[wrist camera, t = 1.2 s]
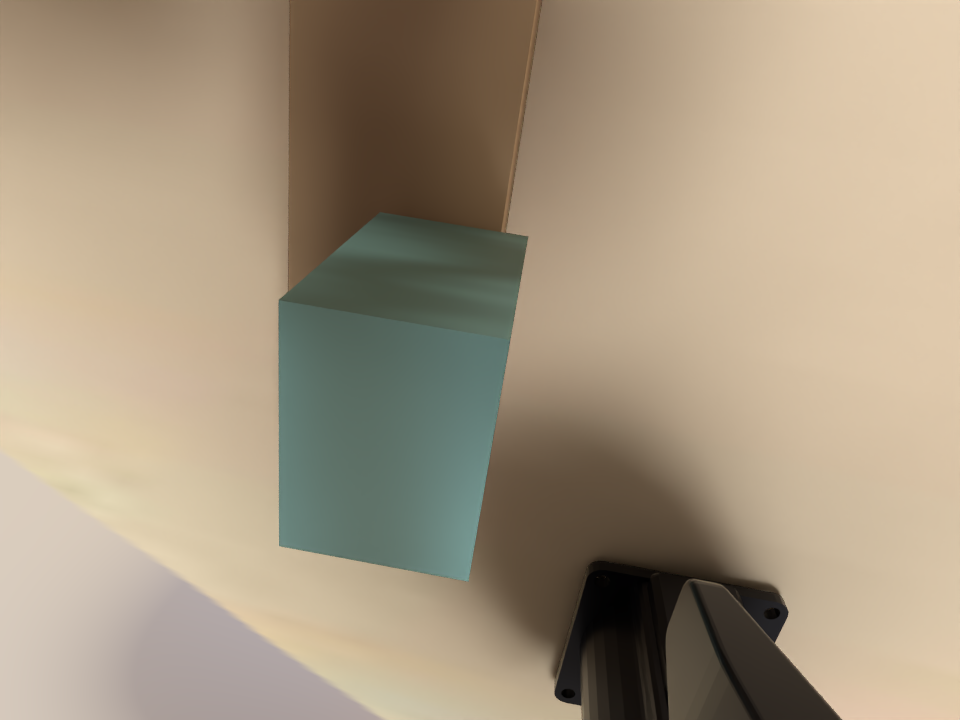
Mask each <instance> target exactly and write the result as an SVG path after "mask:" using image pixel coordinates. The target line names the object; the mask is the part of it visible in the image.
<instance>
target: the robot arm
mask: <svg viewBox="0 0 960 720" xmlns="http://www.w3.org/2000/svg"><path fill="white" fill-rule="evenodd" d="M598 576H606V578H597V577H598ZM769 608H773V609H771V610H766V609H769ZM787 617H788V610H787V607H786V605H785V602H784V600H783V598H782V597H781V596H780V595H778V594H775V593H771V592H766V591H761V590H755V589H750V588H745V587H739V586H734V585H729V584H723V583H718V582H713V581H707V580H702V579H697V578H691V577H686V576H681V575H675V574H670V573H665V572H659V571H654V570H649V569H643V568H638V567H633V566H627V565H622V564H617V563H611V562H606V561H597V562H593V563H592V564H590V565H589V566H588V568H587V569H586V572H585V576H584V579H583V583H582V586H581V590H580V593H579V597H578V600H577V604H576V608H575V611H574V615H573V618H572V622H571V625H570V629H569V632H568V636H567V639H566V643H565V646H564V650H563V654H562V657H561V661H560V664H559V668H558V671H557V675H556V678H555V696H556V698H557V699H559V700H560V701H563V702H565V703H570V704H576V705H581V709H582V720H842V719H841V718H840V717H839V716H838V714H837V713H836V712H835V711H834V710H833V709H832V708H831V706H830V705H829V704H828V703H827V702H826V701H825V700H824V699H823V697H822V696H821V695H820V694H819V693H818V692H817V691H816V690H815V688H814V687H813V686H812V685H811V684H810V683H809V682H808V680H807V679H806V678H805V677H804V676H803V675H802V674H801V673H800V671H799V670H798V669H797V668H796V667H795V666H794V665H793V663H792V662H791V661H790V660H789V659H788V658H787V657H786V656H785V654H784V653H783V652H782V651H781V650H780V649H779V648H778V646H777V645H776V644H775V641H776V639H777V637H778V635H779V633H780V631H781V629H782V627H783V625H784V623H785V621H786V619H787Z"/></svg>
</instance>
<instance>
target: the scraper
mask: <svg viewBox="0 0 960 720" xmlns="http://www.w3.org/2000/svg"><path fill="white" fill-rule="evenodd" d="M541 4H542V0H290V34H289V237H288V292H287V293H286V294H285V295H284V296H283V297H282V298H281V299H279V546H282V547H287V548H292V549H298V550H303V551H308V552H314V553H319V554H324V555H330V556H335V557H340V558H346V559H351V560H356V561H362V562H367V563H372V564H378V565H383V566H388V567H394V568H399V569H404V570H410V571H415V572H420V573H426V574H431V575H436V576H442V577H447V578H452V579H457V580H463V581H469V575H470V569H471V563H472V558H473V552H474V546H475V540H476V535H477V529H478V523H479V517H480V511H481V506H482V500H483V494H484V488H485V483H486V477H487V471H488V465H489V459H490V454H491V448H492V442H493V436H494V431H495V425H496V419H497V413H498V408H499V402H500V396H501V390H502V384H503V379H504V373H505V367H506V361H507V356H508V350H509V344H510V338H511V332H512V327H513V321H514V315H515V309H516V304H517V298H518V292H519V286H520V280H521V275H522V269H523V263H524V257H525V252H526V246H527V240H528V236H522V235H516V234H510V233H506V227H507V221H508V215H509V208H510V202H511V196H512V189H513V183H514V176H515V170H516V164H517V157H518V151H519V145H520V138H521V132H522V125H523V119H524V113H525V106H526V100H527V94H528V87H529V81H530V75H531V68H532V62H533V55H534V49H535V43H536V36H537V30H538V24H539V17H540V11H541Z"/></svg>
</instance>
